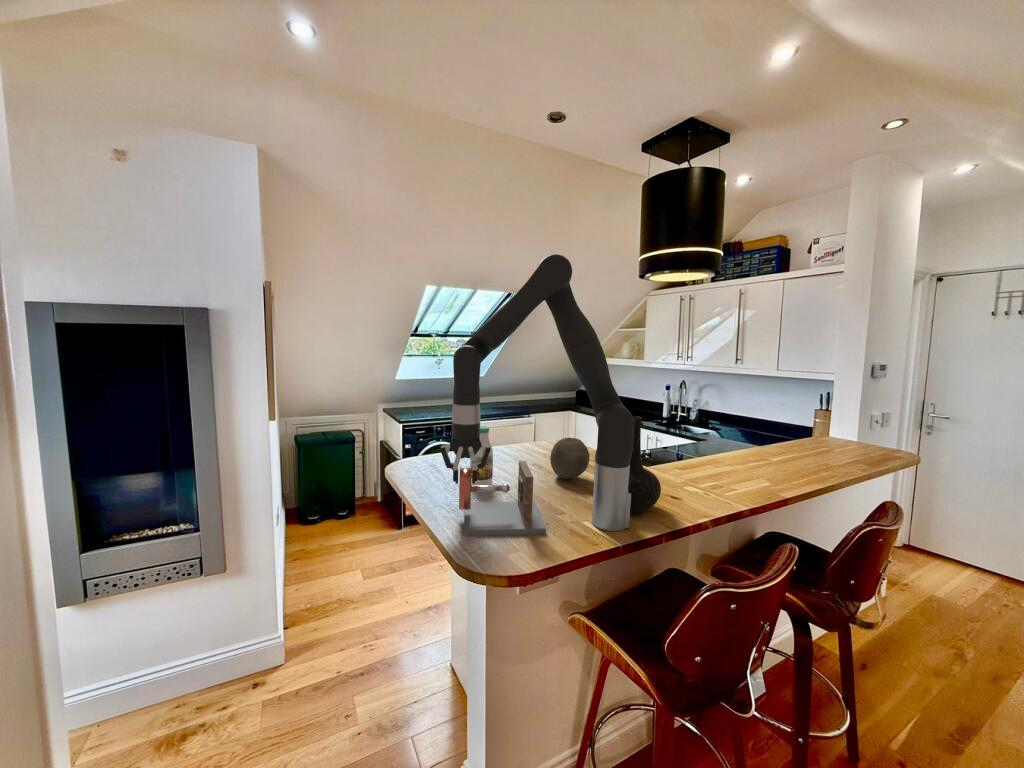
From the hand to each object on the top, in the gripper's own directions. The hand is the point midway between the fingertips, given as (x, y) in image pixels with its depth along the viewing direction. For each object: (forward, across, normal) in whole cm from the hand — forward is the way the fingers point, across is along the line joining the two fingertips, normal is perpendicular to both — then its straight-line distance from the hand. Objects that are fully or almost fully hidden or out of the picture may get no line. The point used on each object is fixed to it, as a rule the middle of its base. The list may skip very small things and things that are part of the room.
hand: (465, 482), depth 112 cm
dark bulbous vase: (+11, -50, -7) cm, 51 cm away
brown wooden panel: (+9, -16, 0) cm, 19 cm away
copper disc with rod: (+7, -5, 0) cm, 9 cm away
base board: (+11, -10, 0) cm, 15 cm away
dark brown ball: (+11, -38, -33) cm, 51 cm away
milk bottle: (+11, -6, -28) cm, 31 cm away
